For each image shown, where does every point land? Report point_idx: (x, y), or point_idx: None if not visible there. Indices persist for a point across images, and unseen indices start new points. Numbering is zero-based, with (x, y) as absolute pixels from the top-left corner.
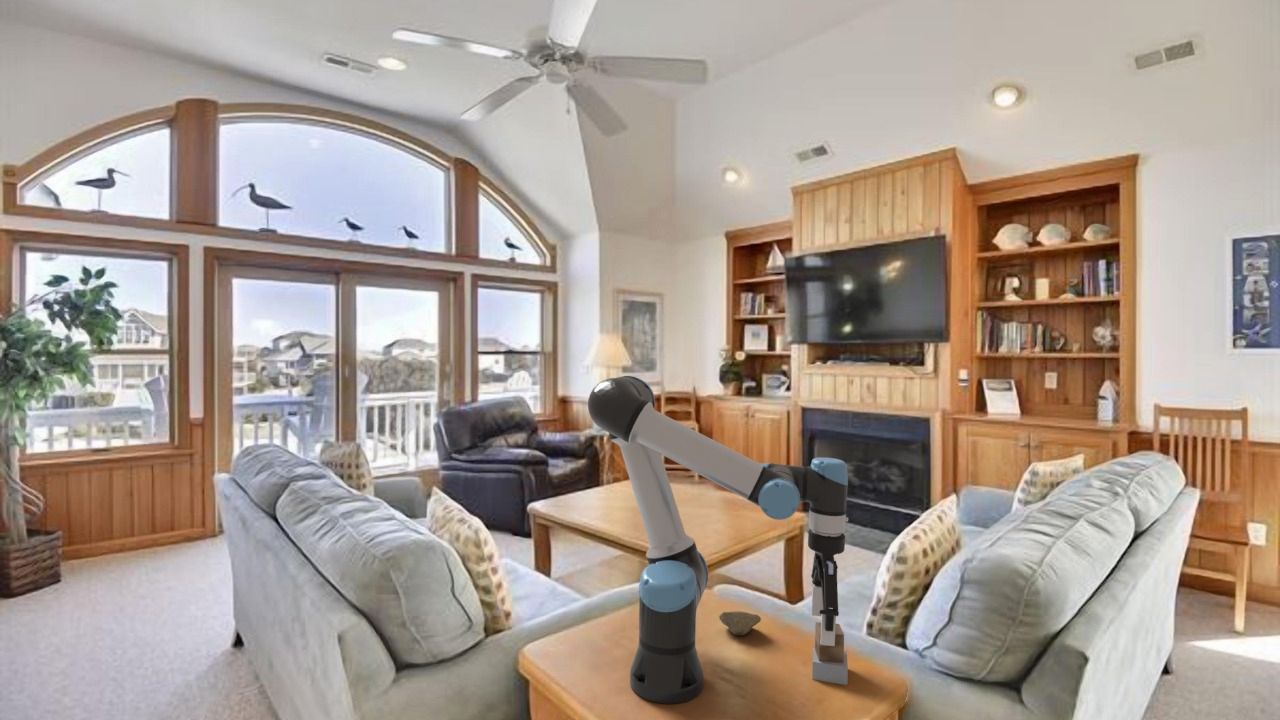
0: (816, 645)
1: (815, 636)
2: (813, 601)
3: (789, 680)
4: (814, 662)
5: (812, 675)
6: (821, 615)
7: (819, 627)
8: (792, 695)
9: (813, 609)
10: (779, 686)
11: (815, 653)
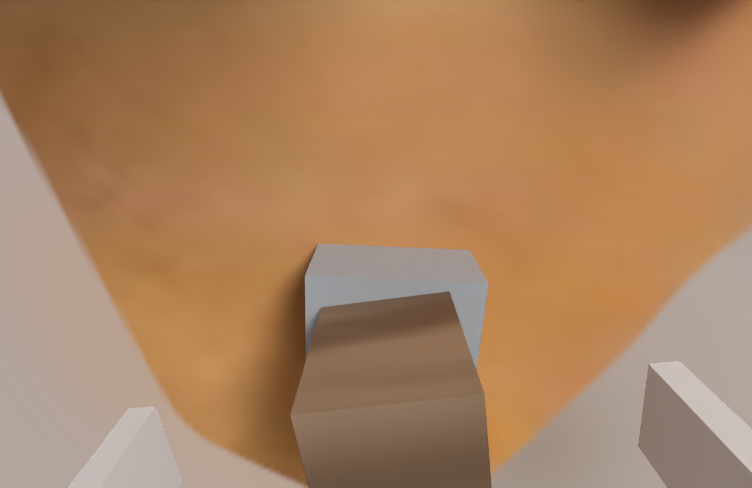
0: (406, 318)
1: (454, 333)
2: (746, 481)
3: (269, 141)
4: (306, 283)
5: (315, 250)
6: (644, 435)
7: (391, 418)
8: (144, 157)
9: (684, 412)
10: (194, 93)
11: (402, 292)
